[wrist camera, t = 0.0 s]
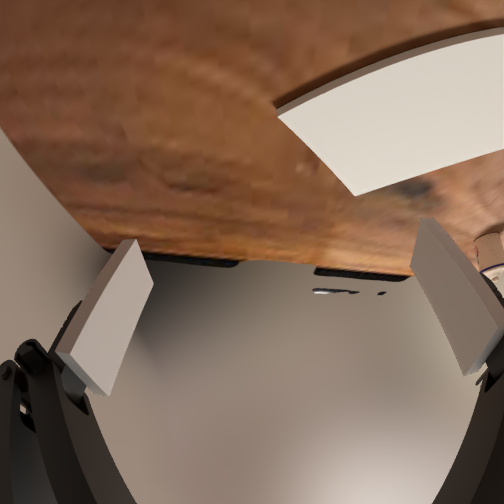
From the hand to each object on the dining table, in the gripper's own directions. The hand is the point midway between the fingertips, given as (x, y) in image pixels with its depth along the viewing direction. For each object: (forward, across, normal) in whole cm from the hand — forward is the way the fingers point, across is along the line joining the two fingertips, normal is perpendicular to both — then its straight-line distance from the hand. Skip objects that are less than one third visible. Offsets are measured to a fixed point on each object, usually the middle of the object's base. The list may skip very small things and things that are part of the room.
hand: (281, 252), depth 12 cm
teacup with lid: (+40, +57, -28) cm, 75 cm away
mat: (+16, +16, +4) cm, 23 cm away
